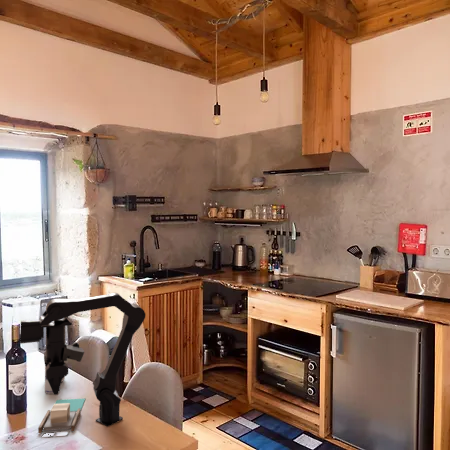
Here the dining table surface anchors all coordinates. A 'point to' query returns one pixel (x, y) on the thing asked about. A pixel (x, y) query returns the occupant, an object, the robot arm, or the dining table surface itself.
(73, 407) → the mat
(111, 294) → the robot arm
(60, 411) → the sled
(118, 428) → the dining table surface
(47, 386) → the energy drink
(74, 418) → the channel
